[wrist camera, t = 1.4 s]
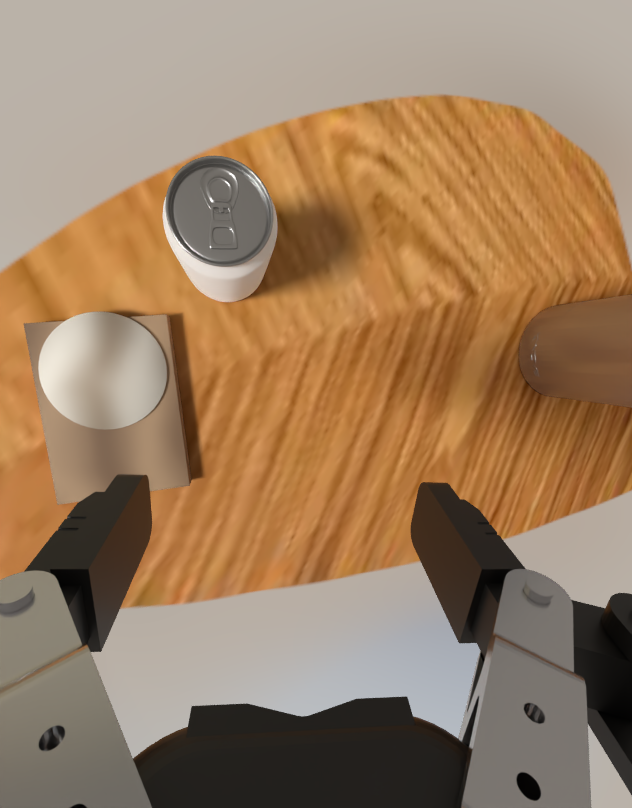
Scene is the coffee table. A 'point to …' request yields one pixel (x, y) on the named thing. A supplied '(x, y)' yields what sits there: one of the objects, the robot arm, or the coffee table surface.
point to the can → (220, 226)
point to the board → (109, 402)
